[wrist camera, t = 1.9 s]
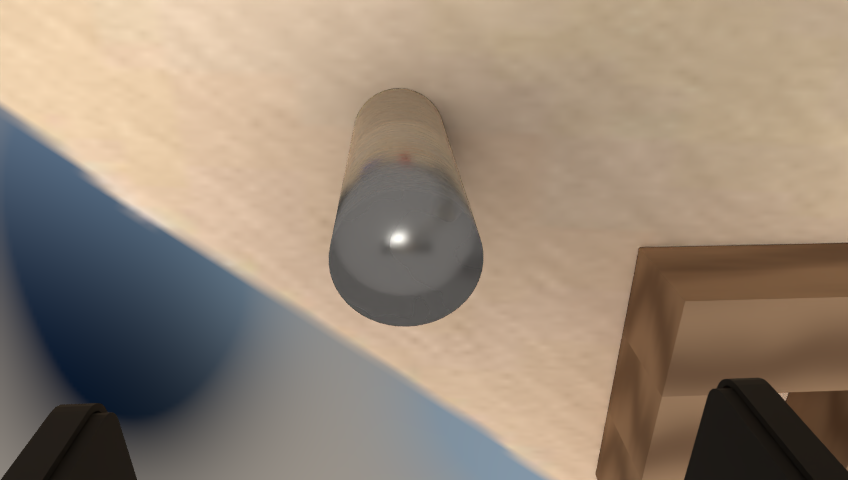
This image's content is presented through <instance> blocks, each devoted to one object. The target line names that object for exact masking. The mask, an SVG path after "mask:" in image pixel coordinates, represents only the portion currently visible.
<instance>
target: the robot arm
mask: <svg viewBox="0 0 848 480" xmlns="http://www.w3.org/2000/svg"><path fill="white" fill-rule="evenodd" d="M1 480H137V478H136V475H135V472H134V468H133V465H132V462H131V459H130V456H129V452H128V449H127V446H126V443H125V440H124V436H123V433H122V430H121V427H120V423H119V420H118V418H117V416H116V414H114V413H108V412H107V410H106V408H105V407H104V406H103V405H102V404H99V403H93V404H67V405H59V406H57V407H55V409H54V410H53V411H52V412H51V413H50V414H49V415H48V417H47V418H46V419H45V421H44V422H43V423H42V425H41V426H40V428H39V429H38V430H37V432H36V433H35V434H34V436H33V437H32V438H31V440H30V441H29V442H28V444H27V445H26V446H25V448H24V449H23V450H22V452H21V453H20V455H19V456H18V457H17V459H16V460H15V461H14V463H13V464H12V465H11V467H10V468H9V469H8V471H7V472H6V473H5V475H4V476H3V478H2V479H1ZM684 480H848V471H847V470H846V469H845V467H844V466H843V465H842V464H841V463H840V462H839V461H838V460H837V459H836V457H835V456H834V455H833V454H832V453H831V452H830V451H829V450H828V448H827V447H826V446H825V445H824V444H823V443H822V442H821V441H820V440H819V438H818V437H817V436H816V435H815V434H814V433H813V432H812V431H811V430H810V428H809V427H808V426H807V425H806V424H805V423H804V422H803V421H802V419H801V418H800V417H799V416H798V415H797V414H796V413H795V412H794V411H793V409H792V408H791V407H790V406H789V405H788V404H787V403H786V402H785V401H784V399H783V398H782V397H781V396H780V395H779V394H778V393H777V392H776V390H775V389H774V388H773V387H772V386H771V385H770V384H769V383H768V382H767V381H766V380H764V379H762V378H759V377H758V378H733V379H723V380H721V381H720V382H719V384H718V386H717V388H715V389H712V390H710V392H709V394H708V396H707V400H706V404H705V407H704V411H703V414H702V418H701V421H700V425H699V428H698V432H697V435H696V439H695V443H694V446H693V450H692V453H691V457H690V460H689V464H688V467H687V471H686V474H685V478H684Z"/></svg>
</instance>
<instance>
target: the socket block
mask: <svg viewBox="0 0 848 480" xmlns="http://www.w3.org/2000/svg"><path fill="white" fill-rule="evenodd" d="M758 377H759V378H762V379H764V380H766V381H767V382H768V383H769V384H770V385H771V386H772V387H773V388H774V389H775V390H776V392H777V393H785V392H789V395H788V398H787V400H786V403H787V404H788V405H789V406H790V407H791V408H792V409H793V411H794V412H795V413H796V414H797V415H798V416H799V417H800V418H801V419H802V421H803V422H804V423H805V424H806V425H807V426H808V427H809V428H810V430H811V431H812V432H813V433H814V434H815V435H816V436H817V437H818V438H819V440H820V441H821V442H822V443H823V444H824V445H825V446H826V447H827V448H828V450H829V451H830V452H831V453H832V454H833V455H834V456H835V457H836V459H837V460H838V461H839V462H840V463H841V464H842V465H843V466H844V467H845V469H846V470H847V471H848V243H834V244H788V245H742V246H696V247H651V248H639V252H638V258H637V263H636V268H635V273H634V278H633V284H632V289H631V294H630V299H629V304H628V310H627V315H626V320H625V325H624V330H623V336H622V341H621V346H620V351H619V356H618V362H617V367H616V372H615V377H614V382H613V388H612V393H611V398H610V403H609V408H608V414H607V419H606V424H605V429H604V434H603V440H602V445H601V450H600V455H599V460H598V466H597V471H596V476H597V479H598V480H684V478H685V474H686V471H687V467H688V464H689V460H690V457H691V453H692V450H693V446H694V443H695V439H696V435H697V432H698V428H699V425H700V421H701V418H702V414H703V411H704V407H705V404H706V400H707V396H708V394H709V392H710V390H712V389H715V388H717V386H718V384H719V382H720V381H721V380H723V379H733V378H758Z"/></svg>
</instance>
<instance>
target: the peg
mask: <svg viewBox="0 0 848 480" xmlns="http://www.w3.org/2000/svg"><path fill="white" fill-rule="evenodd" d="M482 266H483V248H482V243H481V240H480V236H479V233H478V230H477V227H476V224H475V221H474V218H473V215H472V212H471V209H470V206H469V203H468V199H467V196H466V193H465V190H464V187H463V184H462V181H461V178H460V175H459V172H458V169H457V165H456V162H455V159H454V156H453V153H452V150H451V147H450V144H449V141H448V138H447V135H446V131H445V128H444V125H443V122H442V119H441V116H440V114H439V112H438V110H437V109H436V107H435V106H434V105H433V104H432V102H431V101H430V100H428V99H427V98H426V97H425V96H423V95H422V94H420V93H417V92H415V91H412V90H408V89H400V88H397V89H389V90H385V91H382V92H380V93H378V94H376V95H374V96H373V97H371V98H370V99H369V100H368V101H367V102H366V103H365V104H364V105H363V106H362V108H361V110H360V111H359V113H358V115H357V118H356V121H355V125H354V130H353V135H352V140H351V145H350V150H349V155H348V160H347V165H346V170H345V175H344V180H343V185H342V190H341V195H340V200H339V205H338V210H337V215H336V220H335V225H334V230H333V235H332V240H331V245H330V251H329V268H330V274H331V277H332V280H333V283H334V285H335V287H336V289H337V291H338V292H339V294H340V295H341V297H342V298H343V299H344V300H345V301H346V303H347V304H348V305H350V306H351V307H352V308H353V309H354V310H355V311H357V312H358V313H360V314H361V315H363V316H365V317H367V318H369V319H371V320H374V321H376V322H379V323H383V324H387V325H393V326H417V325H423V324H427V323H430V322H434V321H436V320H439V319H441V318H443V317H445V316H447V315H448V314H450V313H452V312H453V311H455V310H456V309H457V308H459V307H460V306H461V305H462V304H463V303H464V302H465V301H466V300H467V299H468V297H469V296H470V295H471V294H472V292H473V290H474V289H475V287H476V285H477V283H478V281H479V278H480V275H481V272H482Z"/></svg>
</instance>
